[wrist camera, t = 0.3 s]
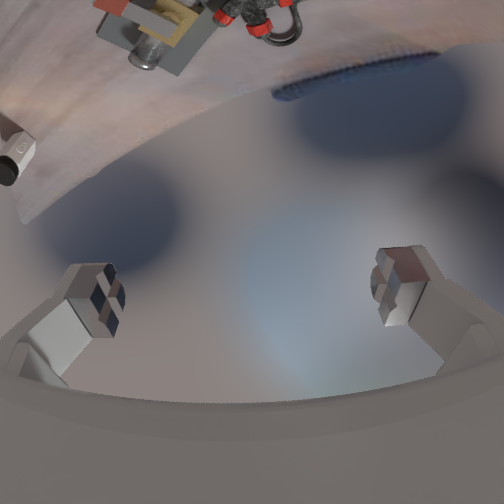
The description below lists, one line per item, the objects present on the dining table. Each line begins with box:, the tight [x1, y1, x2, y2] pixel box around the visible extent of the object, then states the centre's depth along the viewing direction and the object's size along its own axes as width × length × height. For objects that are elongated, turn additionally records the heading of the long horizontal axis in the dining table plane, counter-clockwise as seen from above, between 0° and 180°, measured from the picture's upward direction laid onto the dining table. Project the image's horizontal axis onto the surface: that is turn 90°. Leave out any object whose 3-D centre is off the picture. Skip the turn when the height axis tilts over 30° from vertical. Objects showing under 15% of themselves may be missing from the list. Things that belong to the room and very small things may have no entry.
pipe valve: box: [128, 0, 209, 70], centre depth 35 cm, size 20×7×8 cm, turn 140°
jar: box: [0, 131, 36, 186], centre depth 53 cm, size 9×8×12 cm
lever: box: [92, 0, 180, 39], centre depth 29 cm, size 14×3×3 cm, turn 50°
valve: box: [212, 0, 305, 46], centre depth 36 cm, size 6×26×15 cm
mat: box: [97, 0, 226, 77], centre depth 36 cm, size 22×19×1 cm
